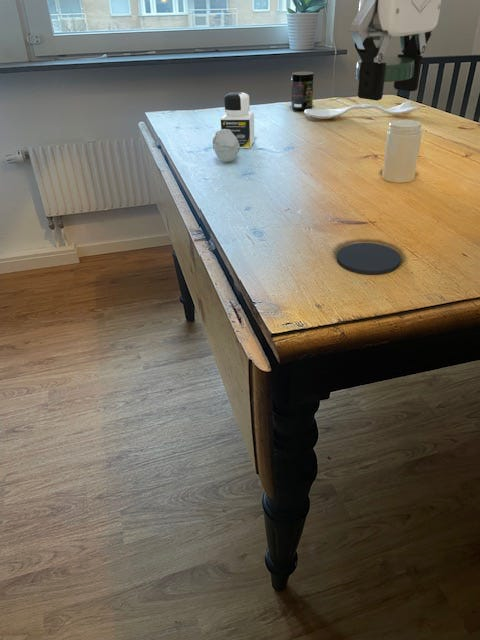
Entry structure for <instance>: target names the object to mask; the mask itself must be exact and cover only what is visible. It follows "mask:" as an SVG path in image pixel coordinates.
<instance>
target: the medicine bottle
mask: <svg viewBox="0 0 480 640" xmlns="http://www.w3.org/2000/svg"><path fill="white" fill-rule="evenodd" d="M223 100H224V113H225V114H223V116H222V117H221V118H220V130H221V129H229V130H231V132H232V133H233V134H234V135H235V136H236V137H237V140H238V142H239V145H240V147H239V149H250V148H251V147H252V146H253V144H254V142H255V112H254V111H250V110H251V109H250V95H249V94H248V93H246V92H242V91H241V92H239V91H238V92H237V91H236V92H229V93H227V94H226V95H224V97H223Z"/></svg>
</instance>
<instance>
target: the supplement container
mask: <svg viewBox="0 0 480 640" xmlns="http://www.w3.org/2000/svg"><path fill="white" fill-rule="evenodd" d="M314 79H315V72H313V71H295V72H291V97H290V98H291V99H290V100H291V101H290V102H291V103H290V104H291V105H290V107H291V110H292V111H293V112H298V113H299V112H300V113H301V112H303V113H305V109H313V107H314V106H313V103H314V81H315V80H314Z"/></svg>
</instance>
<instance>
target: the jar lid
mask: <svg viewBox="0 0 480 640" xmlns="http://www.w3.org/2000/svg"><path fill="white" fill-rule="evenodd" d="M414 61H415V60H414V59H412V58H406V57H398V56H384V58H383V61H382V62H381V63H386V70H385V78H384V83H391V82H393V83H394V81H401V80H406V79H410V78H412V77H413V75H414V67H415V64H414ZM360 65H361V62H359V61H358V60H357V61H356V66H355V79H356V80H358V81H359V76H360Z"/></svg>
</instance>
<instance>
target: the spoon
mask: <svg viewBox="0 0 480 640" xmlns="http://www.w3.org/2000/svg"><path fill="white" fill-rule="evenodd" d="M357 109H358V110H360V109H363V110H364V109H376V110H379V111H381V112H383V113H385V114H387V115H390V116H391V115H393V116H397V115H404V114H409V113H412V112H416V111H419V110H421V106H419V105H418V106H414V105H413V101H412V100H408V101H405V102H403V103H401V104H399V105H396V106H392V107H390V108H385V107H383V106H381V105H378V104H374V103H360V104H354V105H349V106H347V107H342V108H332V109H331V108H329V109H320V108H319V109H318V108H312V109H305V111H304V114H305V115H306V116H310V117H312V118H315V119H320V120H330V119H334V118H337V117H340V116H342V115H344V114H346V113H348V112H350V111H352V110H357Z"/></svg>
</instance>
